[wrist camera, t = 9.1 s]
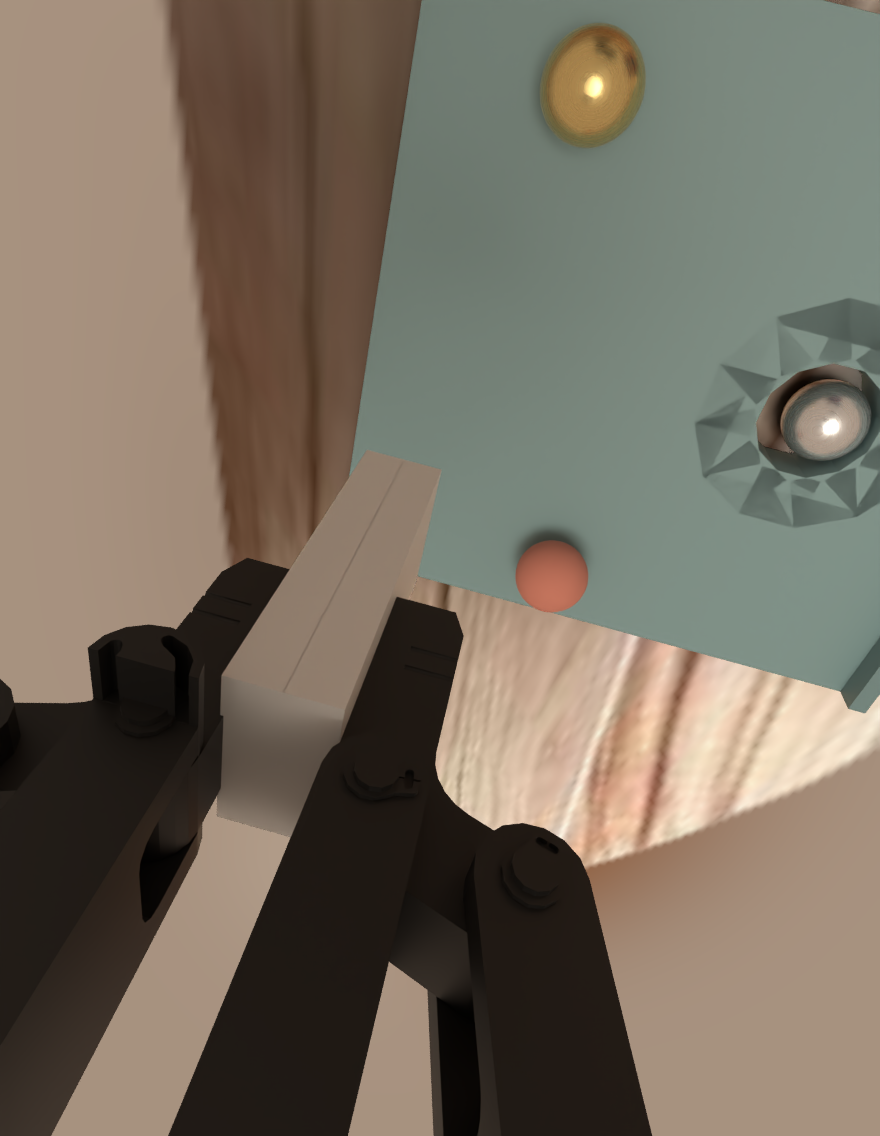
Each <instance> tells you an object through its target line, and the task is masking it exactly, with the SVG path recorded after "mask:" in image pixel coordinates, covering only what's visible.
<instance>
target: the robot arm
mask: <svg viewBox="0 0 880 1136" xmlns="http://www.w3.org/2000/svg"><path fill="white" fill-rule="evenodd" d="M440 475H441V469H437V468H433V467H430V466H426V465H422V464H418V463H415V462H411V461H407V460H403V459H400V458H396V457H392V456H388V455H385V454H381V453H377V452H373V451H370V450H366V452H365V454H364V455H363V457H362V458H361V460H360V461H359V463H358V464H357V466H356V468H355V469H354V471H353V472H352V474H351V475H350V477H349V478H348V480H347V481H346V483H345V485H344V486H343V488H342V489H341V491H340V492H339V494H338V495H337V497H336V499H335V500H334V502H333V503H332V505H331V506H330V508H329V509H328V511H327V512H326V514H325V516H324V517H323V519H322V520H321V522H320V523H319V525H318V526H317V528H316V530H315V531H314V533H313V534H312V536H311V537H310V539H309V540H308V542H307V544H306V545H305V547H304V548H303V550H302V551H301V553H300V554H299V556H298V557H297V559H296V561H295V562H294V564H293V565H292V567H291V568H290V569H286V568H283V567H279V566H275V565H272V564H268V563H264V562H261V561H257V560H253V559H250V558H246V559H244V560H243V561H241V562H239V563H237V564H235V565H233V566H232V567H230V568H228V569H226V570H224V571H222V572H221V574H220V575H219V576H218V577H217V579H216V580H215V581H214V582H213V584H212V585H211V586H210V588H209V589H208V590H207V591H206V594H205V596H202V597H201V599H200V600H199V601H198V603H197V604H196V605H195V607H194V608H193V611H192V613H191V612H190V613H189V614H188V615H187V617H186V618H185V619H184V620H183V622H182V623H181V625H180V626H179V627H178V628H177V629H176V630H175V629H173V628H171V627H162V626H156V625H142V626H133V627H125V628H123V629H120V630H117V631H114V632H112V633H109V634H107V635H104V636H103V637H101V638H100V639H99V640H97V641H96V642H95V643H94V644H92V645H91V646H89V647H88V653H89V662H90V671H91V680H92V689H93V700H92V701H87V702H81V703H79V702H78V703H14V701H13V696H12V691H11V689H10V688H9V687H8V686H7V685H6V684H5V683H4V682H3V681H2V680H1V679H0V1136H51V1135H52V1133H53V1131H54V1129H55V1127H56V1125H57V1123H58V1121H59V1119H60V1117H61V1115H62V1114H63V1112H64V1110H65V1108H66V1106H67V1104H68V1102H69V1100H70V1098H71V1096H72V1094H73V1092H74V1090H75V1089H76V1086H77V1085H78V1082H79V1081H80V1079H81V1077H82V1075H83V1073H84V1071H85V1069H86V1067H87V1065H88V1063H89V1062H90V1060H91V1058H92V1056H93V1054H94V1052H95V1050H96V1048H97V1046H98V1044H99V1042H100V1040H101V1038H102V1037H103V1035H104V1033H105V1031H106V1029H107V1027H108V1025H109V1023H110V1021H111V1019H112V1017H113V1015H114V1013H115V1011H116V1010H117V1008H118V1006H119V1004H120V1002H121V1000H122V998H123V996H124V994H125V992H126V990H127V988H128V986H129V985H130V983H131V981H132V979H133V977H134V975H135V973H136V971H137V969H138V967H139V965H140V963H141V961H142V959H143V958H144V956H145V954H146V952H147V950H148V948H149V946H150V944H151V942H152V940H153V938H154V936H155V935H156V933H157V931H158V929H159V927H160V925H161V923H162V921H163V919H164V917H165V915H166V913H167V911H168V909H169V907H170V906H171V904H172V902H173V900H174V898H175V896H176V894H177V892H178V890H179V888H180V886H181V884H182V883H183V880H184V878H185V877H186V875H187V873H188V871H189V869H190V867H191V865H192V863H193V861H194V859H195V858H196V856H197V853H198V850H199V846H200V843H201V839H202V822H203V821H204V819H205V817H206V815H207V813H208V811H209V809H210V807H211V806H212V804H213V802H214V800H215V798H216V796H217V816H218V817H221V818H225V819H229V820H232V821H236V822H239V823H242V824H246V825H249V826H253V827H256V828H260V829H263V830H267V831H270V832H274V833H277V834H281V835H284V836H288V837H291V838H290V840H289V843H288V845H287V848H286V850H285V853H284V855H283V857H282V860H281V862H280V865H279V867H278V870H277V872H276V875H275V877H274V879H273V882H272V884H271V887H270V889H269V892H268V894H267V896H266V899H265V901H264V904H263V906H262V909H261V911H260V913H259V916H258V918H257V921H256V923H255V926H254V928H253V931H252V933H251V935H250V938H249V940H248V943H247V945H246V948H245V950H244V952H243V955H242V958H241V960H240V962H239V965H238V967H237V969H236V972H235V975H234V977H233V979H232V982H231V984H230V987H229V989H228V992H227V994H226V996H225V999H224V1001H223V1004H222V1006H221V1008H220V1011H219V1013H218V1016H217V1018H216V1021H215V1023H214V1026H213V1028H212V1031H211V1033H210V1036H209V1038H208V1040H207V1043H206V1045H205V1048H204V1050H203V1052H202V1055H201V1058H200V1060H199V1062H198V1064H197V1067H196V1069H195V1072H194V1074H193V1077H192V1079H191V1082H190V1084H189V1086H188V1089H187V1092H186V1094H185V1096H184V1099H183V1101H182V1103H181V1106H180V1109H179V1111H178V1113H177V1116H176V1118H175V1121H174V1123H173V1125H172V1128H171V1130H170V1133H169V1135H168V1136H348V1133H349V1128H350V1124H351V1120H352V1116H353V1111H354V1107H355V1103H356V1099H357V1094H358V1090H359V1086H360V1082H361V1077H362V1073H363V1069H364V1065H365V1060H366V1056H367V1052H368V1048H369V1043H370V1039H371V1035H372V1031H373V1026H374V1022H375V1018H376V1014H377V1010H378V1005H379V1001H380V997H381V993H382V988H383V984H384V980H385V976H386V971H387V967H388V963H389V962H390V963H392V964H393V965H394V966H396V967H397V968H399V969H400V970H401V971H403V972H404V973H405V974H407V975H408V976H409V977H411V978H412V979H414V980H415V981H416V982H418V983H419V984H420V985H422V986H423V987H424V988H426V989H427V990H428V1011H429V1034H430V1035H429V1036H430V1059H431V1083H432V1107H433V1131H434V1136H652V1133H651V1129H650V1125H649V1121H648V1117H647V1113H646V1109H645V1105H644V1101H643V1097H642V1092H641V1088H640V1084H639V1080H638V1076H637V1072H636V1068H635V1064H634V1060H633V1056H632V1051H631V1048H630V1043H629V1039H628V1036H627V1031H626V1027H625V1023H624V1019H623V1015H622V1011H621V1006H620V1002H619V998H618V994H617V990H616V986H615V982H614V978H613V974H612V970H611V965H610V962H609V957H608V953H607V949H606V945H605V941H604V937H603V933H602V929H601V925H600V920H599V916H598V912H597V908H596V904H595V900H594V896H593V892H592V888H591V884H590V880H589V877H588V875H587V873H586V870H585V868H584V866H583V864H582V861H581V859H580V858H579V856H578V855H577V854H576V853H575V852H574V851H573V850H572V849H571V847H570V846H569V845H568V844H567V843H566V842H565V841H564V840H563V839H561V838H559V837H558V836H556V835H554V834H553V833H551V832H550V831H548V830H546V829H545V828H541V827H537V826H533V825H528V824H524V823H520V824H512V825H503V826H501V827H500V828H498V829H496V830H492V829H491V828H489V827H487V826H486V825H484V824H483V823H481V822H479V821H478V820H476V819H475V818H473V817H471V816H470V815H468V814H467V813H466V812H464V811H463V810H462V809H461V808H459V807H458V806H457V805H455V803H454V802H453V801H452V800H451V799H450V797H449V796H448V795H447V794H446V793H445V791H444V789H443V787H442V785H441V783H440V781H439V780H438V776H437V771H436V767H435V761H436V751H437V747H438V743H439V738H440V734H441V730H442V726H443V721H444V717H445V713H446V709H447V704H448V700H449V696H450V691H451V687H452V682H453V679H454V674H455V670H456V666H457V661H458V657H459V653H460V649H461V645H462V640H463V633H462V630H461V627H460V624H459V621H458V618H457V615H456V613H455V612H451V611H448V610H444V609H440V608H437V607H433V606H429V605H426V604H422V603H418V602H415V601H411V600H410V597H411V595H412V592H413V589H414V586H415V583H416V580H417V576H418V571H419V567H420V563H421V558H422V554H423V549H424V545H425V541H426V536H427V532H428V528H429V523H430V519H431V514H432V510H433V506H434V501H435V497H436V492H437V488H438V484H439V479H440Z"/></svg>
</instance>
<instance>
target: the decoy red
mask: <svg viewBox="0 0 880 1136" xmlns="http://www.w3.org/2000/svg"><path fill="white" fill-rule="evenodd" d="M515 578H516V584H517V588H518V591H519V593H520V594H521V596H522V598H523V599H524V600H525V601H526V602H527V603H528V604H529V605H531V606H532V607H534V608H536V609H538V610H541V611H544V612H559V611H563V610H566V609H568V608H570V607H572V606H573V605H575V604H576V603H577V602H578V601H579V600H580V599H581V597H582V596H583V594H584V592H585V590H586V587H587V584H588V569H587V565H586V563H585V560H584V558H583V557H582V555H581V554H580V553H579V552H578V551H577V550H576V549H575V548H574V547H572V546H571V545H569V544H567V543H564V542H561V541H555V540H548V541H543V542H540V543H537V544H535V545H533V546H531V547H530V548H529V549H528V550H527V551H525V553H524V554H523V555H522V556H521V558H520V560H519V562H518V564H517V568H516V575H515Z"/></svg>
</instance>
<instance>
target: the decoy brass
mask: <svg viewBox="0 0 880 1136" xmlns="http://www.w3.org/2000/svg"><path fill="white" fill-rule="evenodd" d="M645 85H646V71H645V64H644V60H643V57H642V54H641V51H640V49H639V47H638V45H637V44H636V43H635V41H634V40H633V39H632V37H631V36H630V35H629V34H628V33H626V32H625V31H624V30H622V29H621V28H619V27H617V26H614V25H611V24H607V23H591V24H587V25H584V26H581V27H579V28H577V29H575V30H573V31H572V32H570V33H569V34H567V35H566V36H565V37H564V38H563V39H562V40H561V41H560V42H559V43H558V44H557V45H556V47H555V48H554V50H553V51H552V52H551V54H550V56H549V58H548V60H547V62H546V64H545V67H544V70H543V73H542V78H541V83H540V102H541V108H542V112H543V115H544V118H545V120H546V122H547V124H548V126H549V128H550V129H551V130H552V132H553V133H554V134H555V135H556V136H557V137H558V138H559V139H561V140H562V141H563V142H565V143H567V144H569V145H571V146H574V147H578V148H595V147H599V146H603V145H605V144H607V143H609V142H611V141H613V140H614V139H616V138H617V137H618V136H620V135H621V134H622V133H623V132H624V131H625V130H626V129H627V128H628V127H629V125H630V124H631V123H632V121H633V120H634V118H635V117H636V115H637V113H638V111H639V109H640V106H641V103H642V100H643V97H644V93H645Z"/></svg>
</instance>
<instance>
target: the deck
mask: <svg viewBox="0 0 880 1136" xmlns="http://www.w3.org/2000/svg"><path fill="white" fill-rule="evenodd" d="M591 23H607V24H611V25H614V26H617V27H619V28H621V29H622V30H624V31H625V32H626V33H628V34H629V35H630V36H631V37H632V39H633V40H634V41H635V43H636V44H637V45H638V47H639V49H640V51H641V54H642V57H643V60H644V64H645V71H646V85H645V93H644V97H643V100H642V103H641V106H640V109H639V111H638V113H637V115H636V117H635V118H634V120H633V121H632V123H631V124H630V125H629V127H628V128H627V129H626V130H625V131H624V132H623V133H622V134H621V135H620V136H618V137H617V138H616V139H614V140H613V141H611V142H609V143H607V144H605V145H603V146H599V147H595V148H578V147H574V146H571V145H569V144H567V143H565V142H563V141H562V140H561V139H559V138H558V137H557V136H556V135H555V134H554V133H553V132H552V130H551V129H550V128H549V126H548V124H547V122H546V120H545V118H544V115H543V112H542V108H541V102H540V83H541V78H542V73H543V70H544V67H545V64H546V62H547V60H548V58H549V56H550V54H551V52H552V51H553V50H554V48H555V47H556V45H557V44H558V43H559V42H560V41H561V40H562V39H563V38H564V37H565V36H566V35H567V34H569V33H570V32H572V31H573V30H575V29H577V28H579V27H581V26H584V25H587V24H591ZM833 363H834V364H838V365H842V366H845V367H849V368H853V369H857V370H859V371H860V373H861V374H862V393H863V394H864V395H865V397H866V398H867V400H868V402H869V405H870V408H871V423H870V428H869V430H868V433H867V434H866V436H865V438H864V439H863V441H862V442H861V443H860V444H859V445H858V446H857V447H856V448H855V449H854V450H853V451H851V452H849V453H848V454H846V455H844V456H842V457H839V458H837V459H833V460H826V461H817V460H811V459H807V458H804V457H802V456H800V455H798V454H797V453H792V454H789V453H786V452H782V451H778V450H774V449H770V448H767V447H764V446H763V445H762V444H761V443H760V442H759V441H758V438H757V428H756V421H757V419H758V417H759V415H760V413H761V411H762V409H763V407H764V405H765V403H766V401H767V399H768V397H769V395H770V394H771V393H772V392H773V391H774V390H776V389H777V388H778V387H780V386H781V385H782V384H783V383H785V382H786V381H787V380H789V379H790V378H791V377H792V376H794V375H795V374H796V373H798V372H800V371H804V370H808V369H813V368H817V367H821V366H825V365H829V364H833ZM366 450H370V451H373V452H377V453H381V454H385V455H388V456H392V457H396V458H400V459H403V460H407V461H411V462H415V463H418V464H422V465H426V466H430V467H433V468H437V469H441V475H440V479H439V484H438V488H437V492H436V497H435V501H434V506H433V510H432V514H431V519H430V523H429V528H428V532H427V536H426V541H425V545H424V549H423V554H422V558H421V563H420V567H419V571H418V576H419V577H423V578H426V579H430V580H434V581H437V582H441V583H445V584H448V585H452V586H456V587H459V588H463V589H467V590H470V591H474V592H478V593H481V594H485V595H489V596H492V597H496V598H500V599H503V600H507V601H511V602H514V603H518V604H522V605H525V606H529V607H532V606H531V605H529V604H528V603H527V602H526V601H525V600H524V599H523V598H522V596H521V594H520V593H519V591H518V588H517V584H516V578H515V575H516V568H517V564H518V562H519V560H520V558H521V556H522V555H523V554H524V553H525V551H527V550H528V549H529V548H530V547H531V546H533V545H535V544H537V543H540V542H543V541H548V540H555V541H561V542H564V543H567V544H569V545H571V546H572V547H574V548H575V549H576V550H577V551H578V552H579V553H580V554H581V555H582V557H583V558H584V560H585V563H586V565H587V569H588V584H587V587H586V590H585V592H584V594H583V596H582V597H581V599H580V600H579V601H578V602H577V603H576V604H575V605H573V606H572V607H570V608H568V609H566V610H563V611H559V612H551V613H555V614H558V615H562V616H566V617H569V618H573V619H577V620H580V621H584V622H588V623H591V624H595V625H599V626H602V627H606V628H610V629H613V630H617V631H621V632H624V633H628V634H632V635H635V636H639V637H643V638H646V639H650V640H654V641H657V642H661V643H665V644H668V645H672V646H676V647H679V648H683V649H687V650H690V651H694V652H698V653H701V654H705V655H709V656H712V657H716V658H720V659H723V660H727V661H731V662H734V663H738V664H742V665H745V666H749V667H753V668H756V669H760V670H764V671H767V672H771V673H775V674H778V675H782V676H786V677H789V678H793V679H797V680H800V681H804V682H808V683H811V684H815V685H819V686H822V687H826V688H830V689H833V690H837V691H840V692H841V694H842V696H843V698H844V701H845V703H846V705H847V707H848V709H851V710H855V711H858V712H862V713H866V711H867V710H868V709H869V708H870V706H871V705H872V704H873V702H874V701H875V700H876V698H877V697H878V696H879V695H880V14H876V13H872V12H868V11H864V10H860V9H856V8H852V7H848V6H844V5H840V4H836V3H832V2H828V1H824V0H422V3H421V9H420V16H419V22H418V29H417V35H416V42H415V48H414V55H413V62H412V68H411V75H410V81H409V88H408V94H407V101H406V107H405V114H404V121H403V127H402V134H401V140H400V147H399V153H398V160H397V166H396V173H395V180H394V186H393V193H392V199H391V206H390V212H389V219H388V225H387V232H386V238H385V245H384V252H383V258H382V265H381V271H380V278H379V284H378V291H377V297H376V304H375V311H374V317H373V324H372V330H371V337H370V343H369V350H368V356H367V363H366V369H365V376H364V383H363V389H362V396H361V402H360V409H359V415H358V422H357V428H356V435H355V442H354V448H353V455H352V461H351V468H350V474H349V477H350V475H351V474H352V472H353V471H354V469H355V468H356V466H357V464H358V463H359V461H360V460H361V458H362V457H363V455H364V454H365V452H366ZM533 608H534V607H533Z"/></svg>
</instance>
